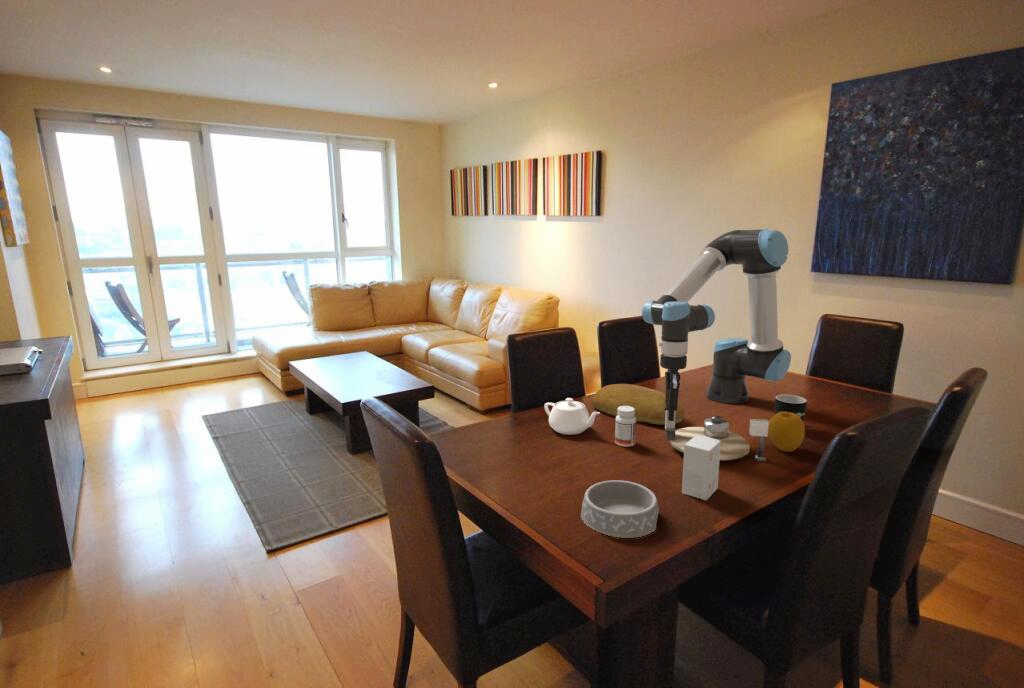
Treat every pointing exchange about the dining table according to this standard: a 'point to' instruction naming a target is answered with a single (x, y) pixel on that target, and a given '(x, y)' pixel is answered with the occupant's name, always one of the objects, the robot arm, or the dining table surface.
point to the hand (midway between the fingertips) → (669, 429)
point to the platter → (729, 446)
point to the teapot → (569, 417)
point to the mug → (791, 405)
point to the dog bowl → (620, 509)
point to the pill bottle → (625, 426)
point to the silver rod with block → (759, 429)
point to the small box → (701, 467)
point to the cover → (716, 427)
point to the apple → (786, 431)
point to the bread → (635, 402)
